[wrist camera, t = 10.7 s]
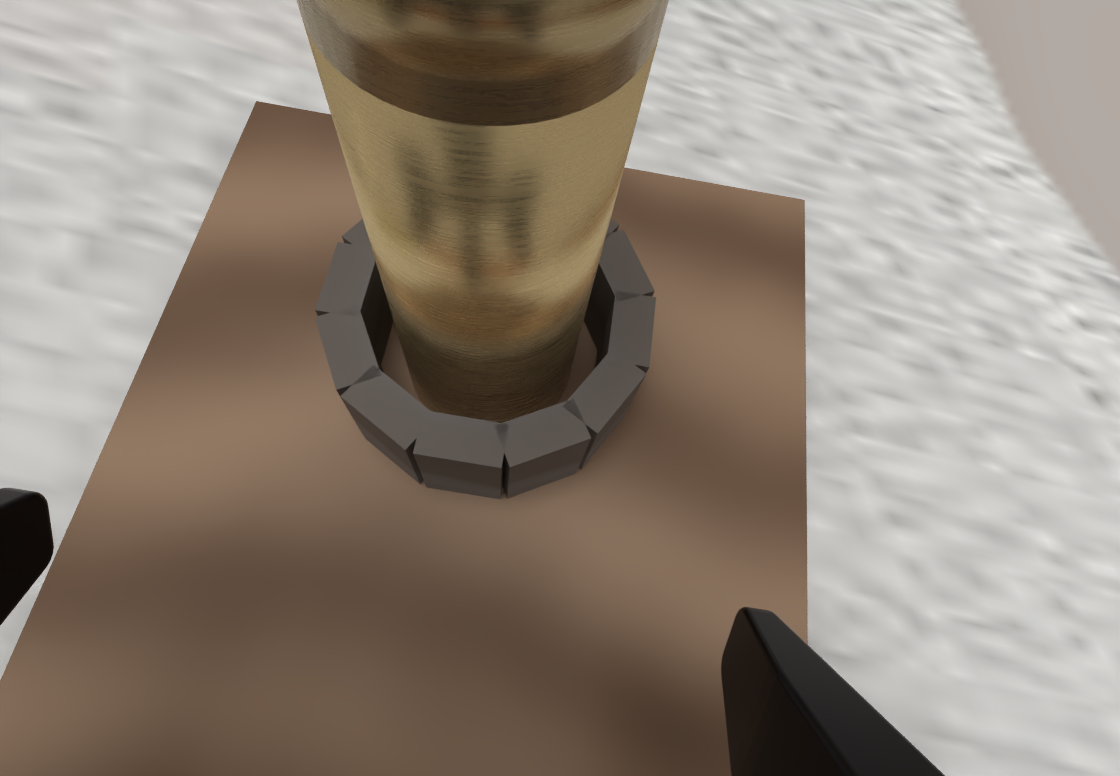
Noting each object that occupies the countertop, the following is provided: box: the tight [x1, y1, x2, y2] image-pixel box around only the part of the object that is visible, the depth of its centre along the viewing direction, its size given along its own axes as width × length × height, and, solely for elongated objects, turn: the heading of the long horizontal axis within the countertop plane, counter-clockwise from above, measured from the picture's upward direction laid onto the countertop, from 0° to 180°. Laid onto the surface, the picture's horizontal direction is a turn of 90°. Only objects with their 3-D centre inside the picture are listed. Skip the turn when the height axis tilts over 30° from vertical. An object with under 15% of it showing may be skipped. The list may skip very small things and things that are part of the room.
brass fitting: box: [297, 0, 669, 423], centre depth 12 cm, size 4×4×13 cm
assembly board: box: [0, 101, 808, 776], centre depth 14 cm, size 30×18×4 cm, turn 172°
